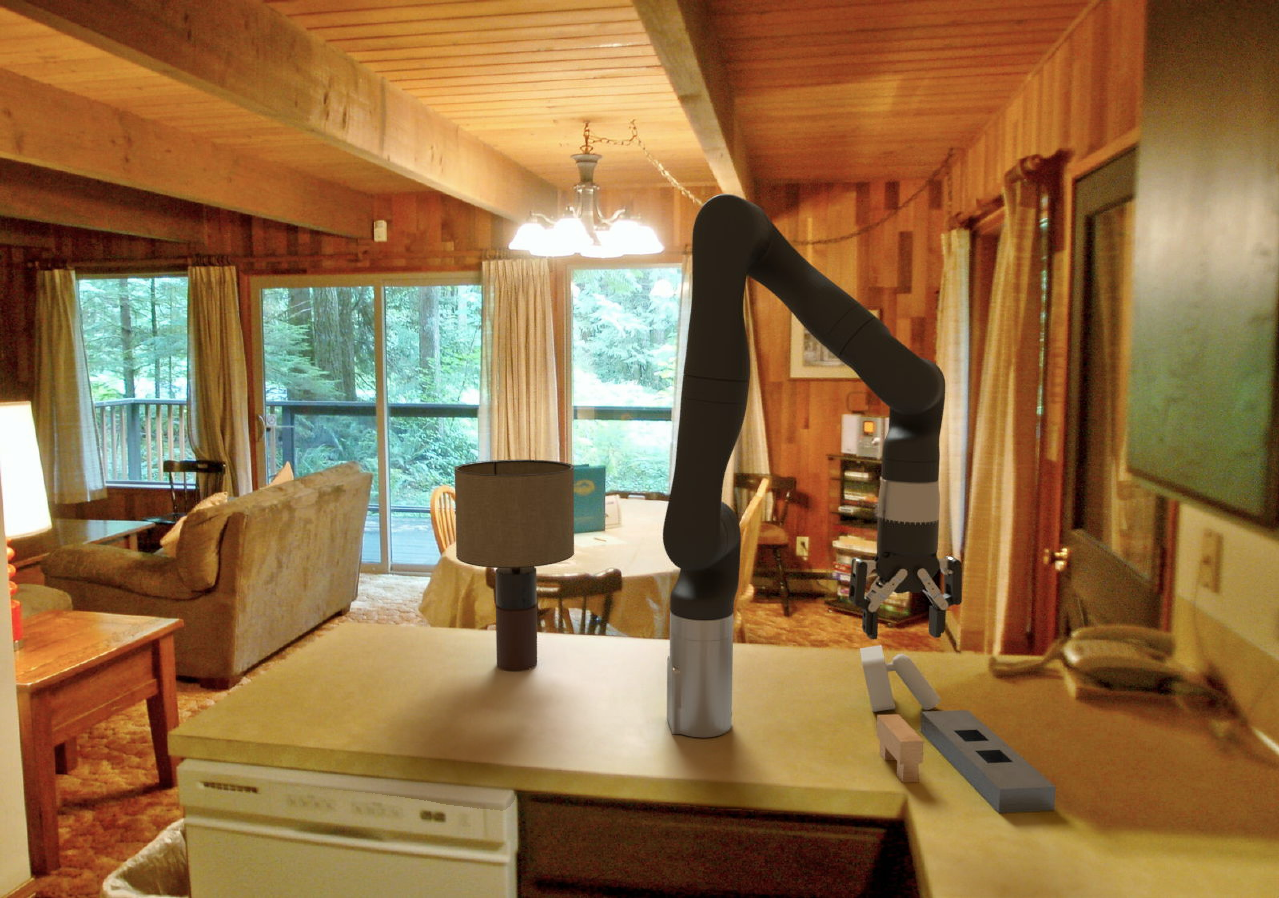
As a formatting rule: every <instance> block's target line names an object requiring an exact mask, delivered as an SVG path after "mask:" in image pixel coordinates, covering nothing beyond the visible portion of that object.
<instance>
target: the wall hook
mask: <svg viewBox="0 0 1279 898" xmlns="http://www.w3.org/2000/svg"><path fill="white" fill-rule="evenodd" d="M859 652H860V659H861V665H862V669H863V674H864V678H865V684H866V688H867V694H868V696H869V701H870V706H871V709H872V712H873V713H875V712H882V711H887V710H889V711H890V710H896V705H895V701H894V696H893V690H892V687H891V686H892V685H891V682H890V678H889V677H890V676H889V673H888V672H895V673H896V674H897V675H898V677H899V678H900V679H901V681H902V682H903V683H904V685H905V686H906V688H907V689H908V690H909V692H910V693H911V694H912V696H913V697H914V699H915V700H916V701H917V702H918V704H919V705H920V706H921V708H922V709H923V710H924V711H928V710H931V709H933V708H935V707H936V706H937V705H939V703H940V702H941V697H940V696H939V694H938V693H937V692H936V691H935V689H934V688H933V687H932V685H931V684H930V682H929V681H928V680H927V678H926V677H925V676H924V674H923V673H922V672H921V670H920V669H919V668H918V666H917V665H916V664H915V662H913V660H912V659H911V657H909V656H908V655H906V654H905V653H898V654H896V655H895V656H894V657H893V659H892V661H891V662H888V663H887V662H886V659H885V655H884V651H883V646H882V645H881V644H879V645H874V646H867V647H861V648H859Z"/></svg>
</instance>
